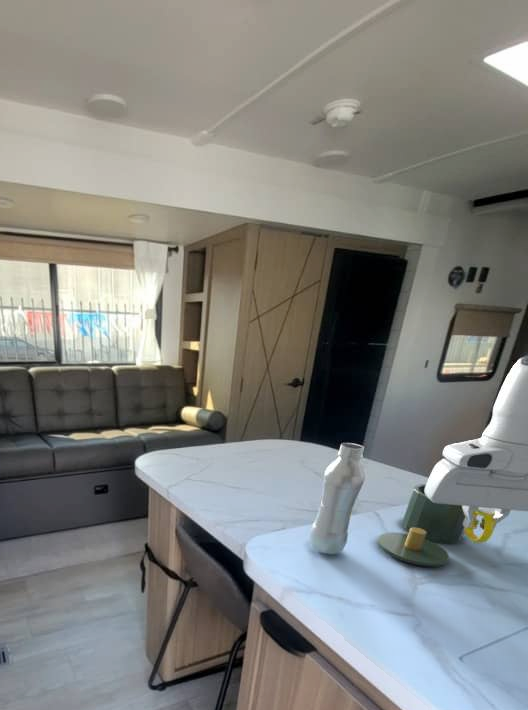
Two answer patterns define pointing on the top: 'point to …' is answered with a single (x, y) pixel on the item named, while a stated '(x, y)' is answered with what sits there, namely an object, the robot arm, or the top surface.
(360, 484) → the plastic bottle
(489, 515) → the watch
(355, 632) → the top surface
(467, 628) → the top surface
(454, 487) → the robot arm
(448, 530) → the tin
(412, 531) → the tin lid
